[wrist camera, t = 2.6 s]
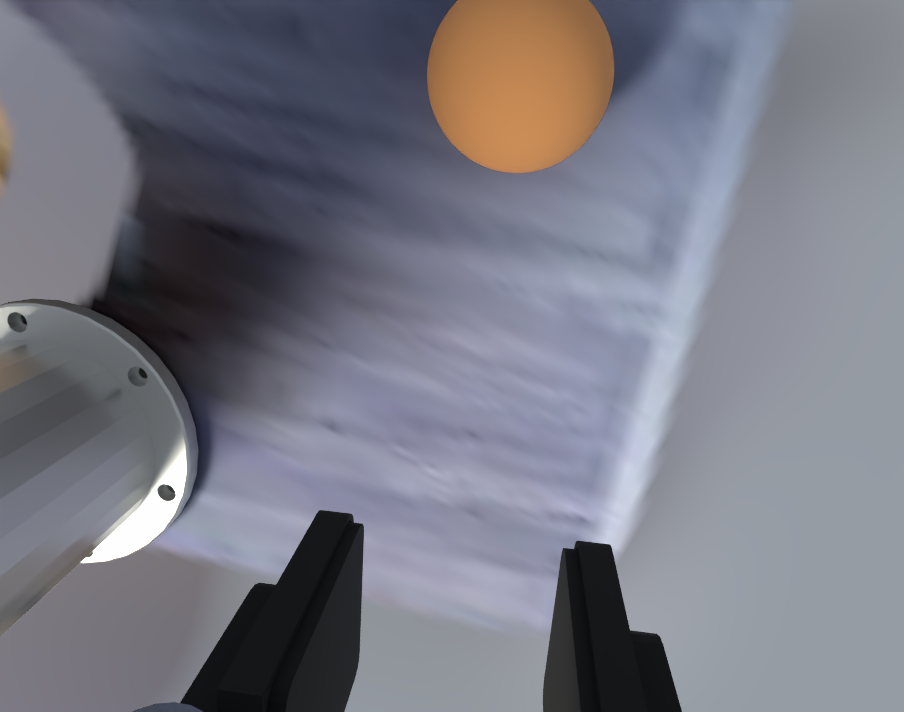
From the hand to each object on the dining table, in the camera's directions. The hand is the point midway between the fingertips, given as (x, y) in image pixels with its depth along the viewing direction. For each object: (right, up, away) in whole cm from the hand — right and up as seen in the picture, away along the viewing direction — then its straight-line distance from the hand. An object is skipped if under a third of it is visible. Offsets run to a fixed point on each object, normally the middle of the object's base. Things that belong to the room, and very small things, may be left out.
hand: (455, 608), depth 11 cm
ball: (+2, +13, +11) cm, 17 cm away
